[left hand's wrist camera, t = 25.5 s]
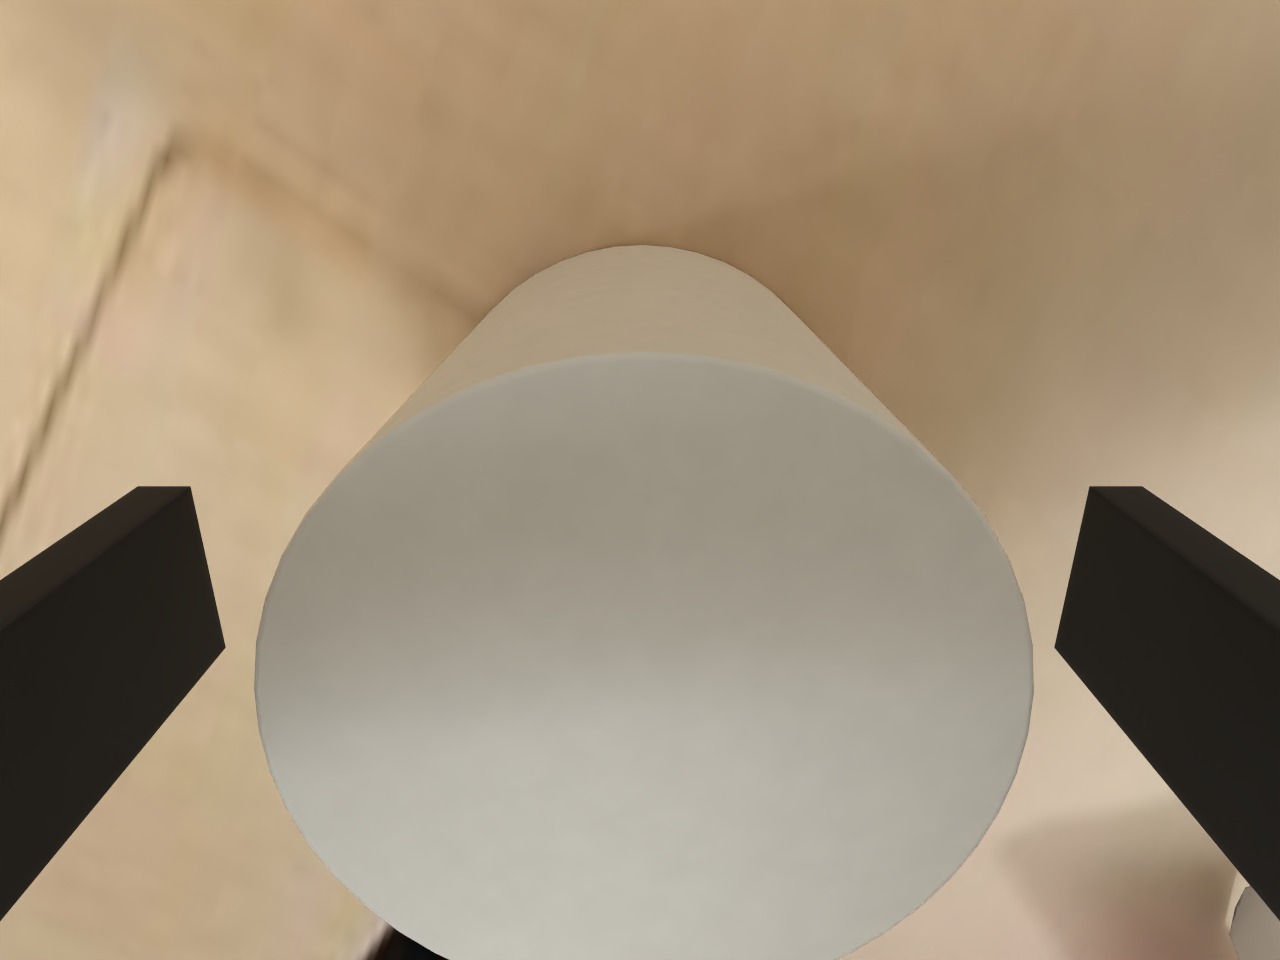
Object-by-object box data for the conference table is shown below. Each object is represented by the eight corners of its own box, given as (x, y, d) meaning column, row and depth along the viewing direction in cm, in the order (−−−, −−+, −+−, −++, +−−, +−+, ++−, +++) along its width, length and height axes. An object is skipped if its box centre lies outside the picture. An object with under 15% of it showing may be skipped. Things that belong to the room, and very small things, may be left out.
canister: (607, 678, 21) (583, 1094, 11) (362, 410, 18) (82, 671, 9) (910, 481, 19) (1170, 792, 10) (683, 151, 16) (743, 150, 7)
